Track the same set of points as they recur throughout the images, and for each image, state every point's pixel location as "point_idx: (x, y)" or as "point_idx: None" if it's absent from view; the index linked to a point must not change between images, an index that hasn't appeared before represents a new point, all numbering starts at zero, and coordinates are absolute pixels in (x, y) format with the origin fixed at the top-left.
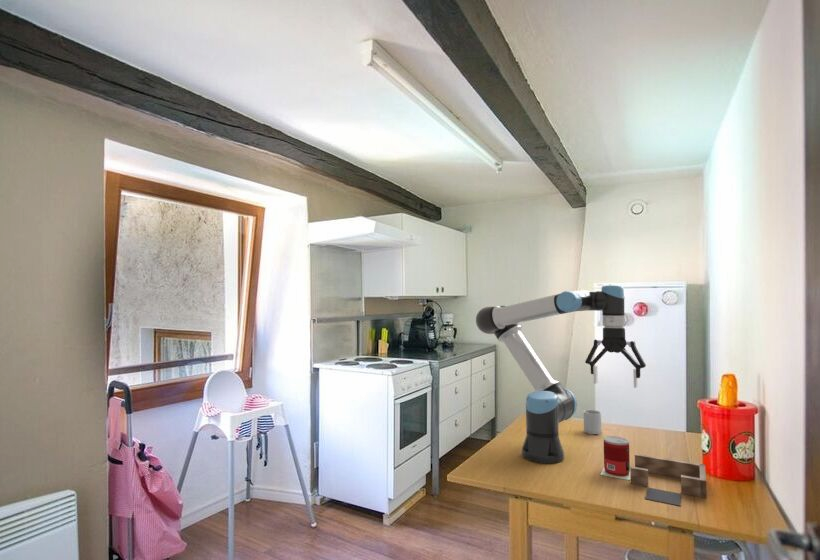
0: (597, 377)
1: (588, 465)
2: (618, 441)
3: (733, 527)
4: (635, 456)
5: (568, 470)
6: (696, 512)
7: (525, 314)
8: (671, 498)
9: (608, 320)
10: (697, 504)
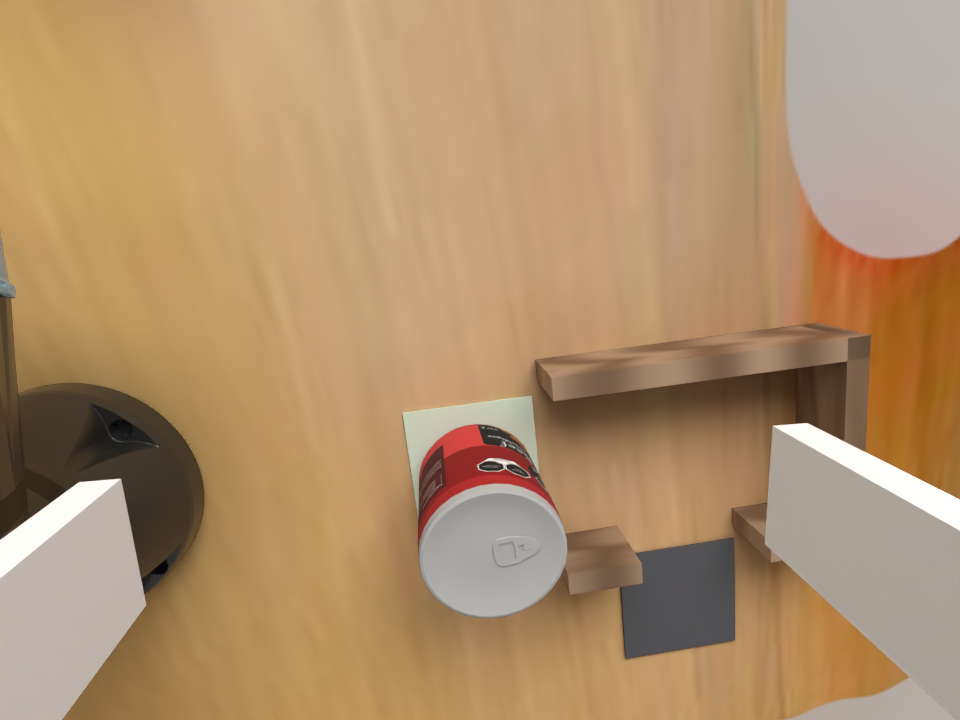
0: (60, 534)
1: (336, 465)
2: (510, 565)
3: (870, 680)
4: (555, 398)
5: (284, 582)
6: (779, 649)
7: None
8: (705, 602)
9: None
10: (783, 587)
